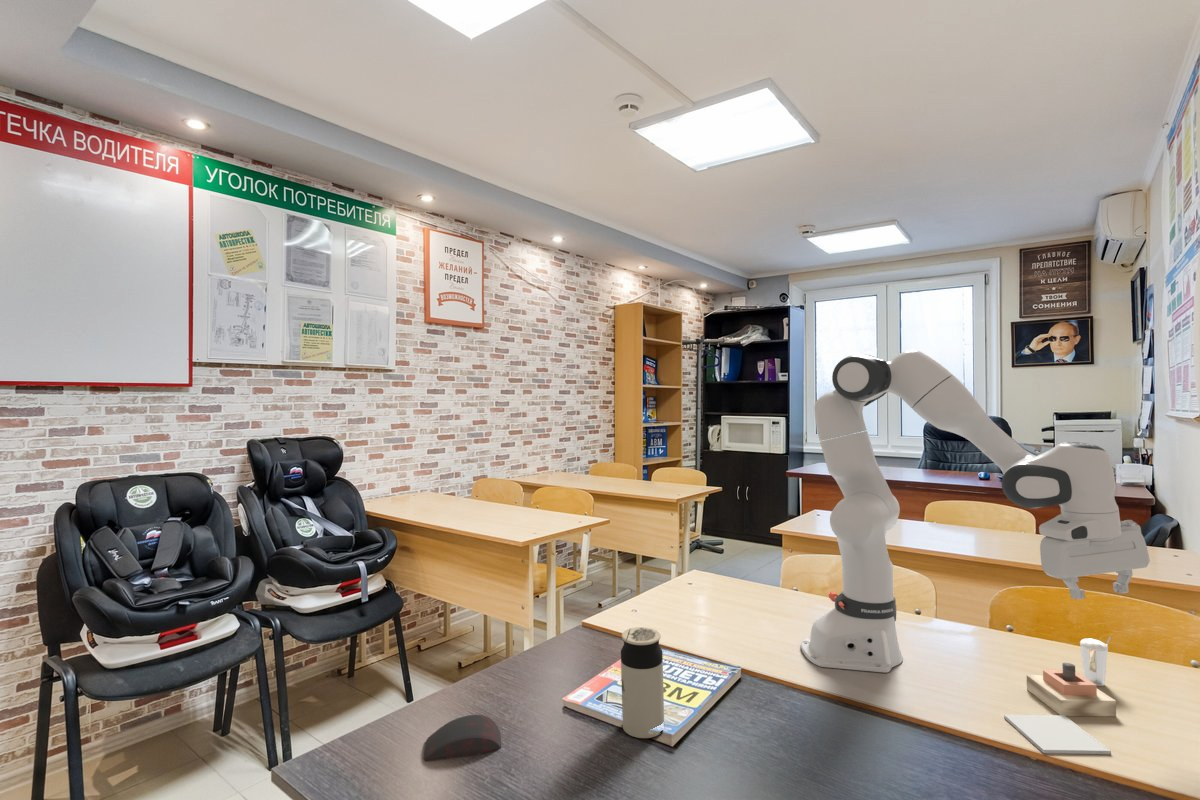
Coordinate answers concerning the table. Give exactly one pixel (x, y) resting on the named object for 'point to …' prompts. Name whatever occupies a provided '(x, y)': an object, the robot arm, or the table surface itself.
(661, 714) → the travel mug
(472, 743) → the computer mouse
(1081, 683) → the pink rectangular frame
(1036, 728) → the mat
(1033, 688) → the peg stand
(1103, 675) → the milkshake
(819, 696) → the table surface
